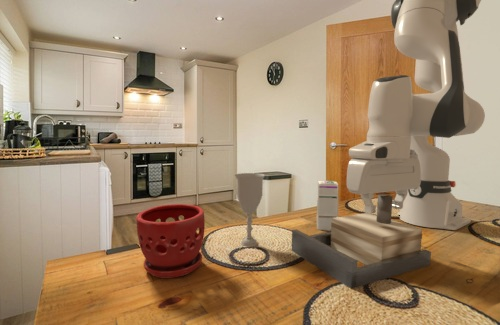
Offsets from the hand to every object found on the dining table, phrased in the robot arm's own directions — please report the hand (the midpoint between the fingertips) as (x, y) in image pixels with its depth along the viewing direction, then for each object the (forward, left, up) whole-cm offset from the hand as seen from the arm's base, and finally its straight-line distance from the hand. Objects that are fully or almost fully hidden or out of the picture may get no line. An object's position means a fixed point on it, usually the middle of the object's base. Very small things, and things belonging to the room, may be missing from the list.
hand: (384, 210), depth 64 cm
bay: (+8, 0, -11) cm, 13 cm away
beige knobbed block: (+3, 0, -10) cm, 10 cm away
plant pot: (+45, -14, -11) cm, 48 cm away
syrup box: (0, -19, -11) cm, 22 cm away
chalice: (+26, -17, -11) cm, 33 cm away
